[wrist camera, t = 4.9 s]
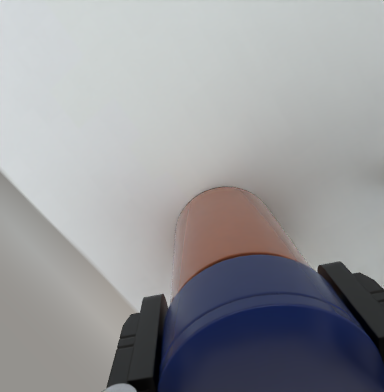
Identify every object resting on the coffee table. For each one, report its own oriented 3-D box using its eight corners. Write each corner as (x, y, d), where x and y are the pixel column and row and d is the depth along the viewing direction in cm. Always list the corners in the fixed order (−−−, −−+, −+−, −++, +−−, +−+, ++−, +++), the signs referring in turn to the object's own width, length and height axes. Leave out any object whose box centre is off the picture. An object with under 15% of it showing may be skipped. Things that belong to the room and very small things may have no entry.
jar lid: (340, 236, 9) (390, 282, 7) (348, 383, 11) (390, 458, 8) (143, 273, 9) (130, 329, 7) (183, 411, 11) (183, 491, 9)
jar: (293, 240, 17) (400, 385, 9) (215, 293, 18) (243, 471, 10) (235, 165, 16) (294, 251, 7) (154, 227, 17) (123, 367, 8)
